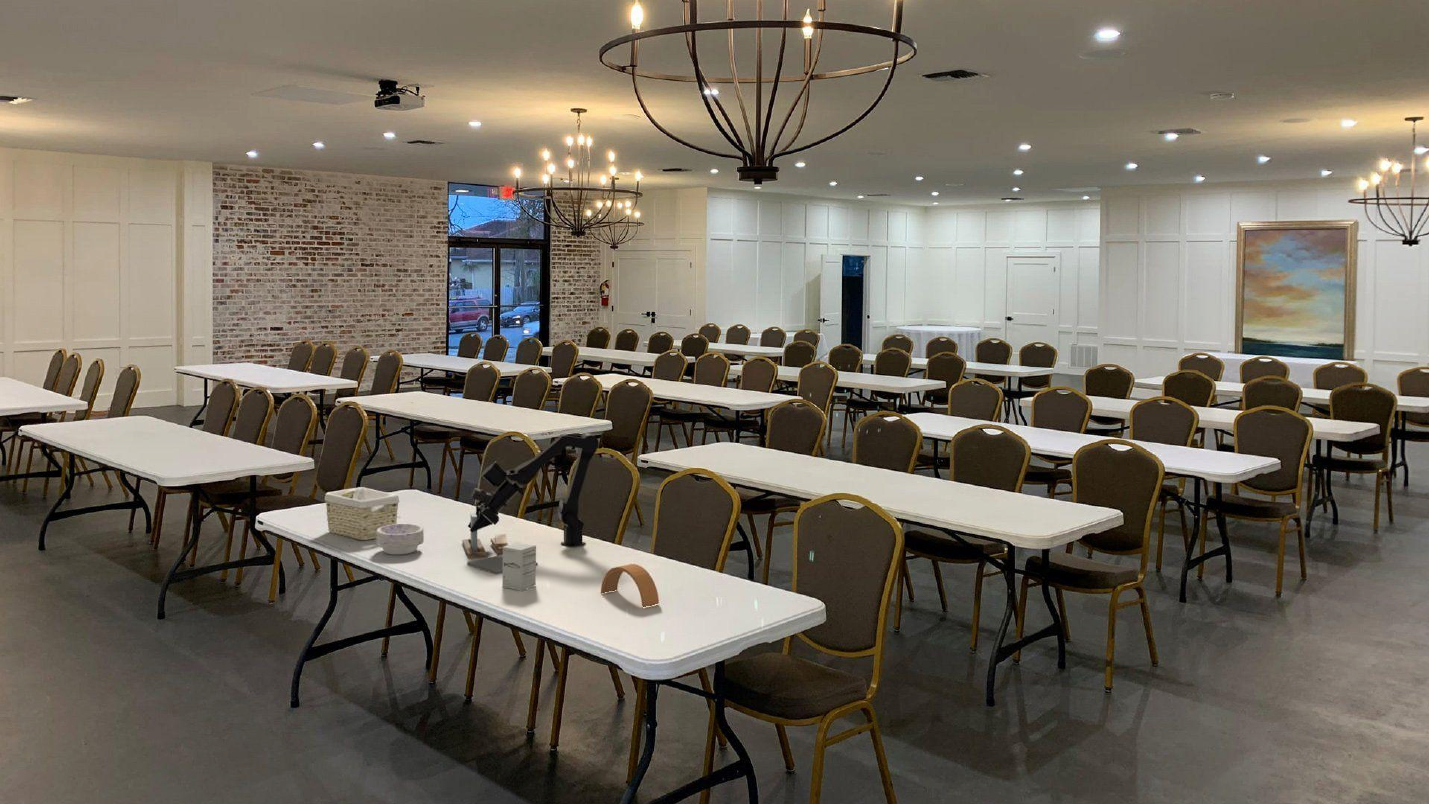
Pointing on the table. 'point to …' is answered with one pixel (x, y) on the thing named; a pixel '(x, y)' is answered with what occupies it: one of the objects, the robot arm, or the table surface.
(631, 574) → the arch
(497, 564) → the pad
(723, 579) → the table surface
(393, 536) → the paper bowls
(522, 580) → the supplement box
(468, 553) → the frame
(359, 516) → the storage basket
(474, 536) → the tall grey pillar
